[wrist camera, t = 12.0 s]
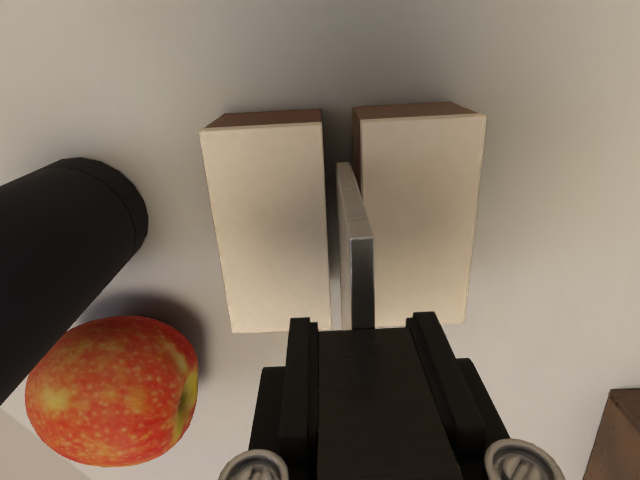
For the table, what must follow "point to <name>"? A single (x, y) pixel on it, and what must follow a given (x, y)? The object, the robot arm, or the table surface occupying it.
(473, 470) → the robot arm
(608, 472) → the knife block
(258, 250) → the cake
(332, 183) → the table surface
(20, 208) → the wine bottle
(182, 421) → the apple
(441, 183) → the cake slice
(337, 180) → the knife
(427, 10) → the table surface
